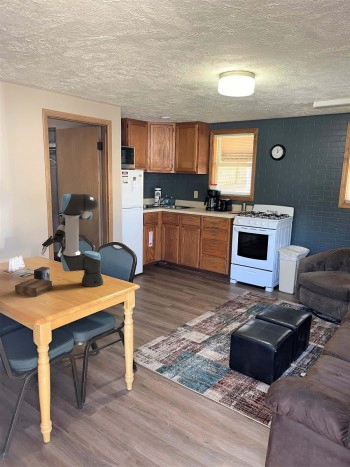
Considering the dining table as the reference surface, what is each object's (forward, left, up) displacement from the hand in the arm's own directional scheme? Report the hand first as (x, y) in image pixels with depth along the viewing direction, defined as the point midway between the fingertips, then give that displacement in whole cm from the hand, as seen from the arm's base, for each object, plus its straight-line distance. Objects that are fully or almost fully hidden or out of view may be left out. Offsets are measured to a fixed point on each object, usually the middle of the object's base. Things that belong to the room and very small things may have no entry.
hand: (50, 255), depth 250 cm
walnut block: (-6, +28, -18) cm, 34 cm away
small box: (0, +11, -18) cm, 21 cm away
